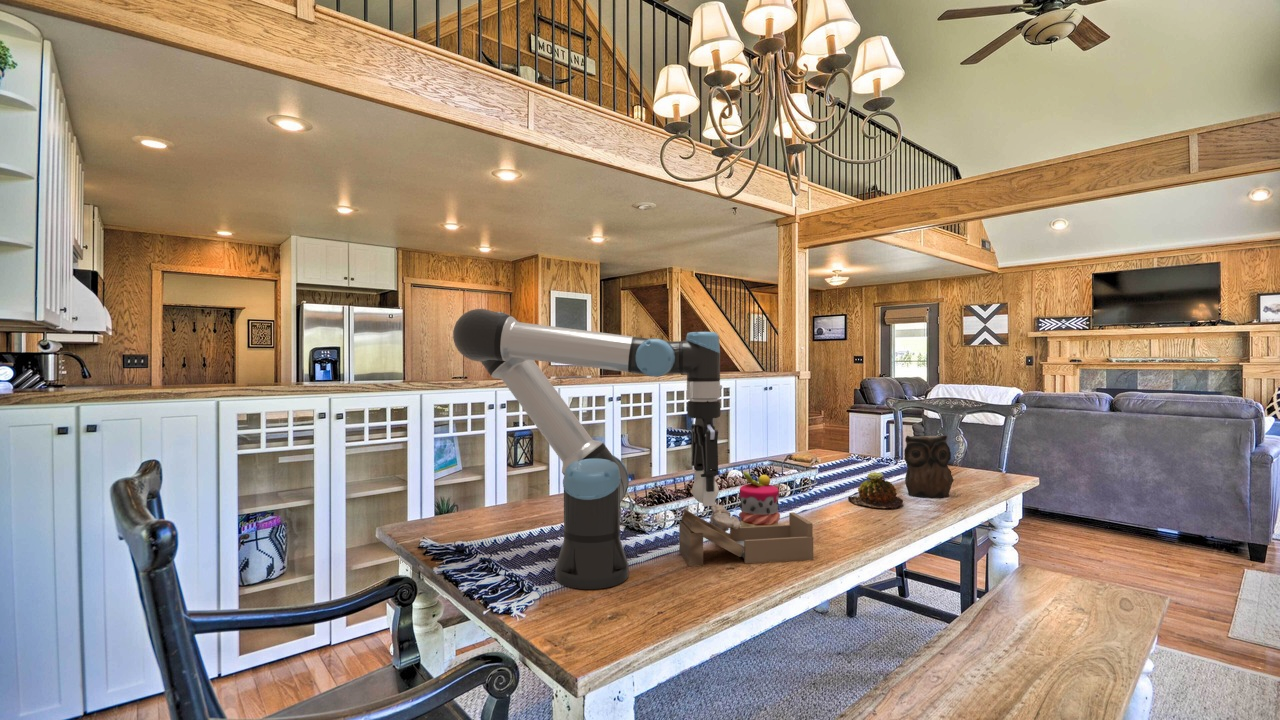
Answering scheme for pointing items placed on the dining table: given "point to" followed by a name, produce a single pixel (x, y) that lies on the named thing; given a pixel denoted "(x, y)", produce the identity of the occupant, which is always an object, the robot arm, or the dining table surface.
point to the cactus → (877, 493)
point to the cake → (759, 502)
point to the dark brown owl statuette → (927, 466)
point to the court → (776, 541)
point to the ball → (698, 490)
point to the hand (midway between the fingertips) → (704, 501)
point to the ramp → (693, 535)
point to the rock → (723, 518)
